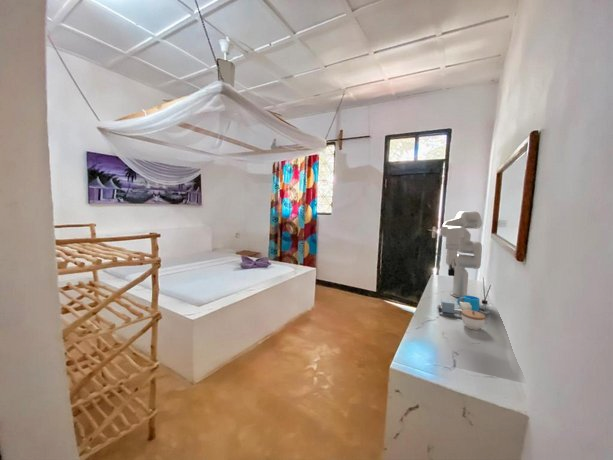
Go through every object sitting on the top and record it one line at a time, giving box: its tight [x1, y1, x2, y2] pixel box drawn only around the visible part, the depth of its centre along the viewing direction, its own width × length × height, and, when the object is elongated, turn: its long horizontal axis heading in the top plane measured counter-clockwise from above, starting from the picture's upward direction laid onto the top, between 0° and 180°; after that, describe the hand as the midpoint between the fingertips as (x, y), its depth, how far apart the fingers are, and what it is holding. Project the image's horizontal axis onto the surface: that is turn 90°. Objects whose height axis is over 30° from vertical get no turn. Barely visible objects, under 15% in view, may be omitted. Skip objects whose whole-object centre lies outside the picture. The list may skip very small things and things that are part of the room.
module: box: [440, 298, 456, 313], centre depth 153 cm, size 7×6×6 cm
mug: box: [456, 295, 480, 312], centre depth 158 cm, size 12×8×8 cm
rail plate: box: [436, 301, 472, 320], centre depth 151 cm, size 14×18×7 cm
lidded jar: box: [461, 310, 486, 331], centre depth 133 cm, size 11×11×9 cm
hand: (451, 275), depth 152 cm, fingers closed
